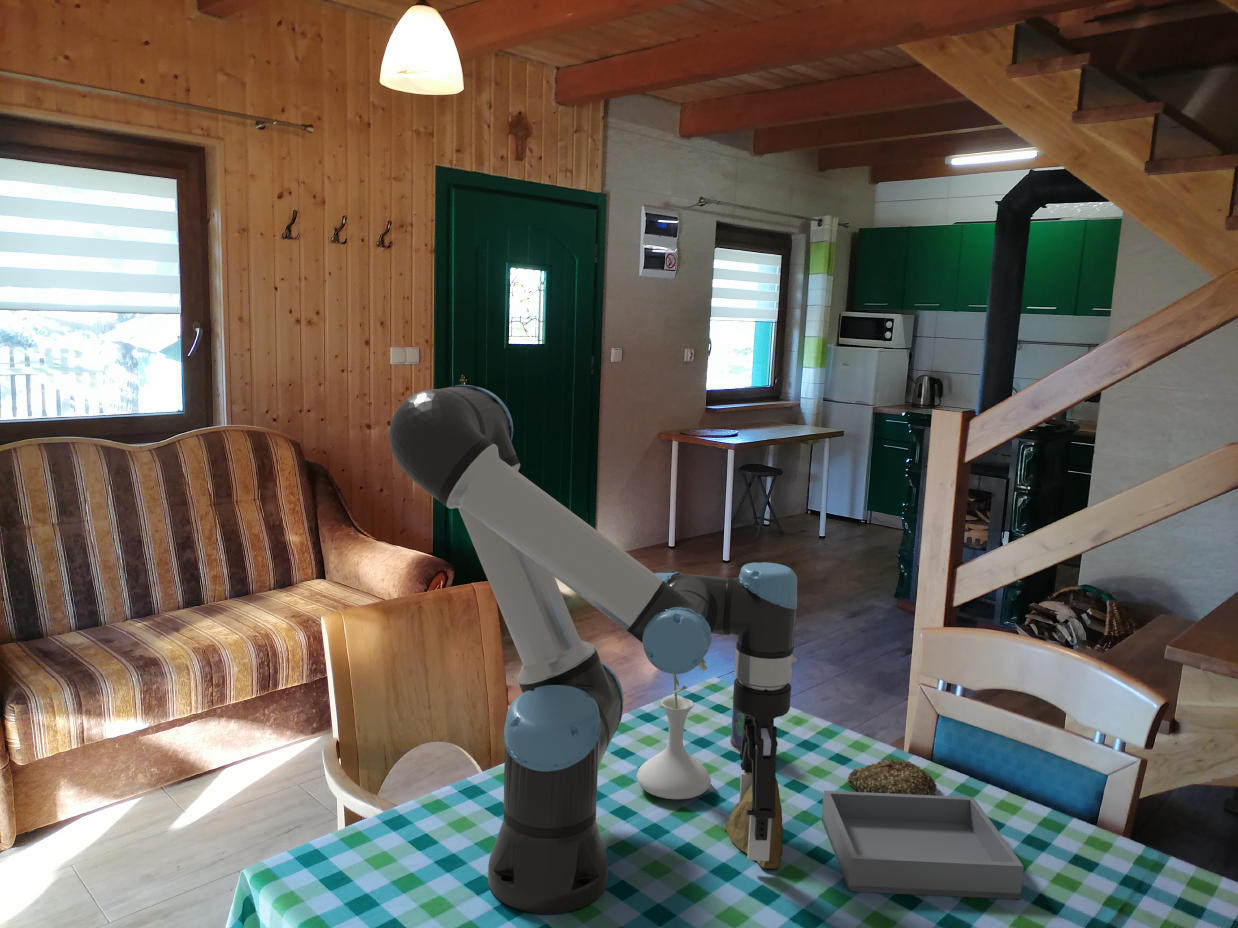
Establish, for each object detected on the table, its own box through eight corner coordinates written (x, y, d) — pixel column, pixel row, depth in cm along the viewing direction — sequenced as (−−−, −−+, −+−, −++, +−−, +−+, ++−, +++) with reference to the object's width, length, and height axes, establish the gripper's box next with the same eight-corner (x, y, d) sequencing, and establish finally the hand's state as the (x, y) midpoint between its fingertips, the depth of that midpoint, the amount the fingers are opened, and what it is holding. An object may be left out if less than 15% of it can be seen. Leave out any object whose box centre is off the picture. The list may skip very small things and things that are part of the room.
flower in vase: (707, 811, 137) (717, 647, 133) (631, 802, 138) (638, 640, 135) (713, 770, 149) (721, 620, 146) (642, 763, 151) (649, 614, 148)
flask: (727, 741, 160) (731, 682, 159) (742, 739, 161) (746, 680, 160) (753, 765, 152) (757, 703, 150) (769, 763, 153) (773, 701, 151)
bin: (849, 891, 118) (851, 858, 117) (821, 819, 135) (823, 790, 135) (1020, 899, 118) (1023, 865, 117) (970, 826, 135) (973, 797, 134)
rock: (802, 861, 120) (804, 813, 129) (764, 809, 119) (769, 765, 129) (733, 893, 124) (740, 844, 133) (696, 843, 123) (705, 798, 132)
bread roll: (901, 819, 137) (904, 787, 136) (836, 784, 147) (838, 755, 146) (953, 796, 145) (956, 766, 144) (888, 765, 154) (890, 736, 154)
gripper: (806, 715, 112) (794, 886, 115) (778, 652, 135) (768, 797, 138) (744, 713, 112) (734, 884, 115) (726, 650, 135) (718, 794, 138)
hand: (753, 836), depth 127 cm, fingers closed on rock, 10 cm apart
